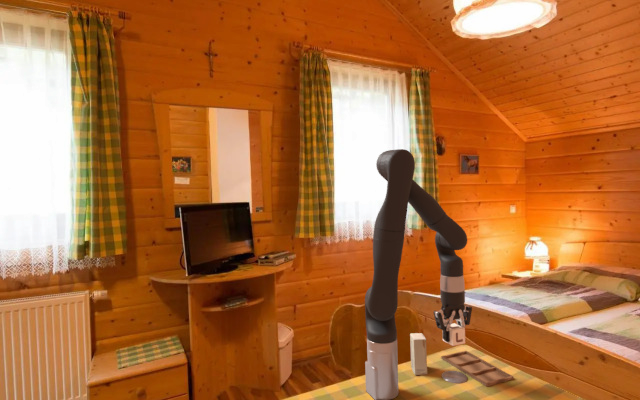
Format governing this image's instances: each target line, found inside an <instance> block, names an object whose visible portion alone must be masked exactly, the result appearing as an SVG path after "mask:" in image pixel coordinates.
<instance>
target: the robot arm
mask: <svg viewBox="0 0 640 400" xmlns="http://www.w3.org/2000/svg"><path fill="white" fill-rule="evenodd" d="M375 164H376V170H377V172H378V174H379V175H380V176H381V177H382V178H383V179H384V180H385V181H386V182H387V184H386V194H385V198H384V199H383V202H382V205H381V207H380V209H379V211H378V213H377V216H376V218H375V222H374V225H373V226H374V227H373V235H372V260H373V263H372V264H373V277H372V281H371V282H372V283H371V286H370V287H369V288H368V289H367V290H366V293H365V297H364V310H365V311H364V312H365V313H364V316H365V330H366V353H367V354H366V355H367V360H365V362H364V365H365V367H364V368H365V369H364V370H365V371H364V372H365V374H364V375H365V391H366V392H367V394H368V395H369V396H370V397H372V398H373V399H374V400H393V399H395V398H396V397H397V396H398V395H399V367H398V366H399V365H398V364H399V363H398V362H399V361H398V333H397V332H398V331H397V325H396V317H395V316H396V315H395V314H396V312H397V310H398V306H399V305H398V301H399V299H398V295H399V294H398V289H399V287H398V286H399V283H398V282H399V274H400V273H399V272H400V268H401V267H400V265H401V261H402V255H403V248H404V243H405V234H406V221H407V216H408V215H407V213H408V208H409V207H408V206H409V205H408V204H410V206H411V207H412V209H413V210H414V211H415V212H416V213H417V214H418V216H419V217H420V218H421V220H422V221H423V223H425V225H426V226H427V227H428V228H429V229H430V230H431V231H434V232H436V233H435V236H434V243H435V248H436V250H437V251H436V252H437V256H438V258H439V261H440V262H439V263H440V279H439V284H440V288H439V289H440V302H441V307H440V309H439V310H433V315H434V317H433V318H434V320H435V325H436V328H437V329H440V330H441V331H442V330H443V336H442V340H443V339H444V340H445V341H446V342H450V333H449V329H450V325H451V324H453V322H454V321H456V324H457V325H459V326H462V327H464V328H465V327H466V326H469V325H470V324H471V318H472V311H473V307H472V306H469V305H468V304H466V303H465V302H466V297H465V296H466V295H465V294H466V292H465V285H466V284H465V279H464V278H465V277H464V261H463V258H461V257H460V256H459V255H458V254H456V251H461V250H463V249H465V247H466V246H467V243H468V236H467V233H466V231H465V230H464V229H463V227H461V225H460V224H459V223H457V222H456V221H455V220H454V219H452V217H450V216H449V215H447V213H446V211H445V210H444V208H443V207H442V206H441V205H440V203H439V202H438V201H437V200H436V199H435V197H433V196H432V195H431V194H430V193H429V192H428V191H426V190H425V189H424V188H423V187H421V186H420V185H419V184H418V183H417V182H416V181H415V180H414V174H415V167H416V162H415V157H414V155H413V154H412V152H410V151H409V150H408V149H389V150H385V151H383V152H381V154H379V155H378V157H377V160H376V163H375ZM465 329H466V328H465ZM446 342H445V343H446Z"/></svg>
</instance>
